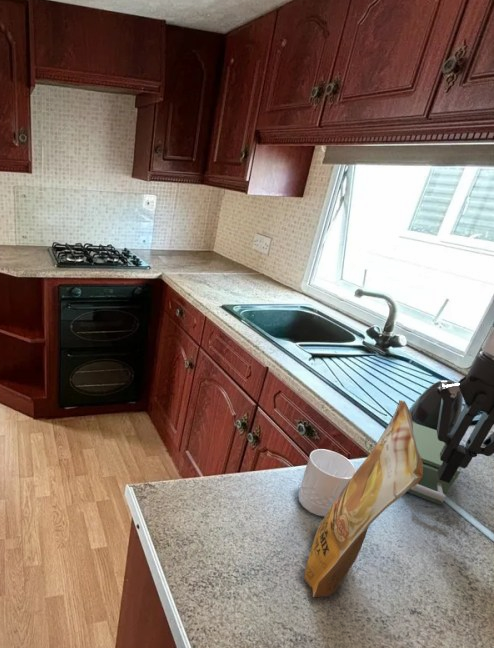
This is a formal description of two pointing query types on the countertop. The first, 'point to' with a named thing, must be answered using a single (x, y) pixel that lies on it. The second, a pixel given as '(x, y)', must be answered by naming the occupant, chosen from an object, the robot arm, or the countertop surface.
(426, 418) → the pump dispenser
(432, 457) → the cabinet
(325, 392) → the countertop surface
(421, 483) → the drawer
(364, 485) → the pancake mix bag
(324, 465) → the white cup
